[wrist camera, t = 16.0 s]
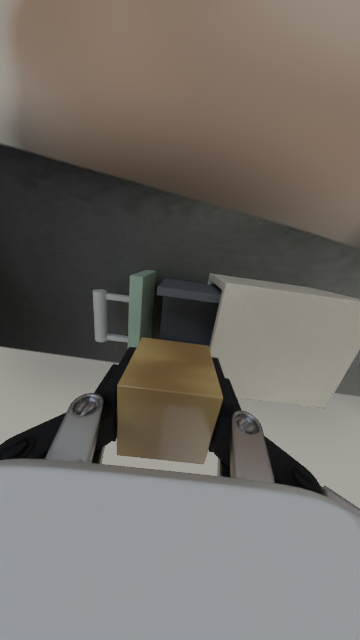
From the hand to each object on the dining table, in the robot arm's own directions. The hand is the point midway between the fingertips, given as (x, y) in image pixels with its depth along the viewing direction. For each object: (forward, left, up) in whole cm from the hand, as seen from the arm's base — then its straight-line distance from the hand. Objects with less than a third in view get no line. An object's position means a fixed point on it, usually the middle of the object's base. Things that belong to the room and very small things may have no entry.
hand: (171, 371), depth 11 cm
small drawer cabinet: (-11, 0, -14) cm, 18 cm away
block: (0, 0, 0) cm, 0 cm away
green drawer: (+1, 0, -14) cm, 14 cm away
